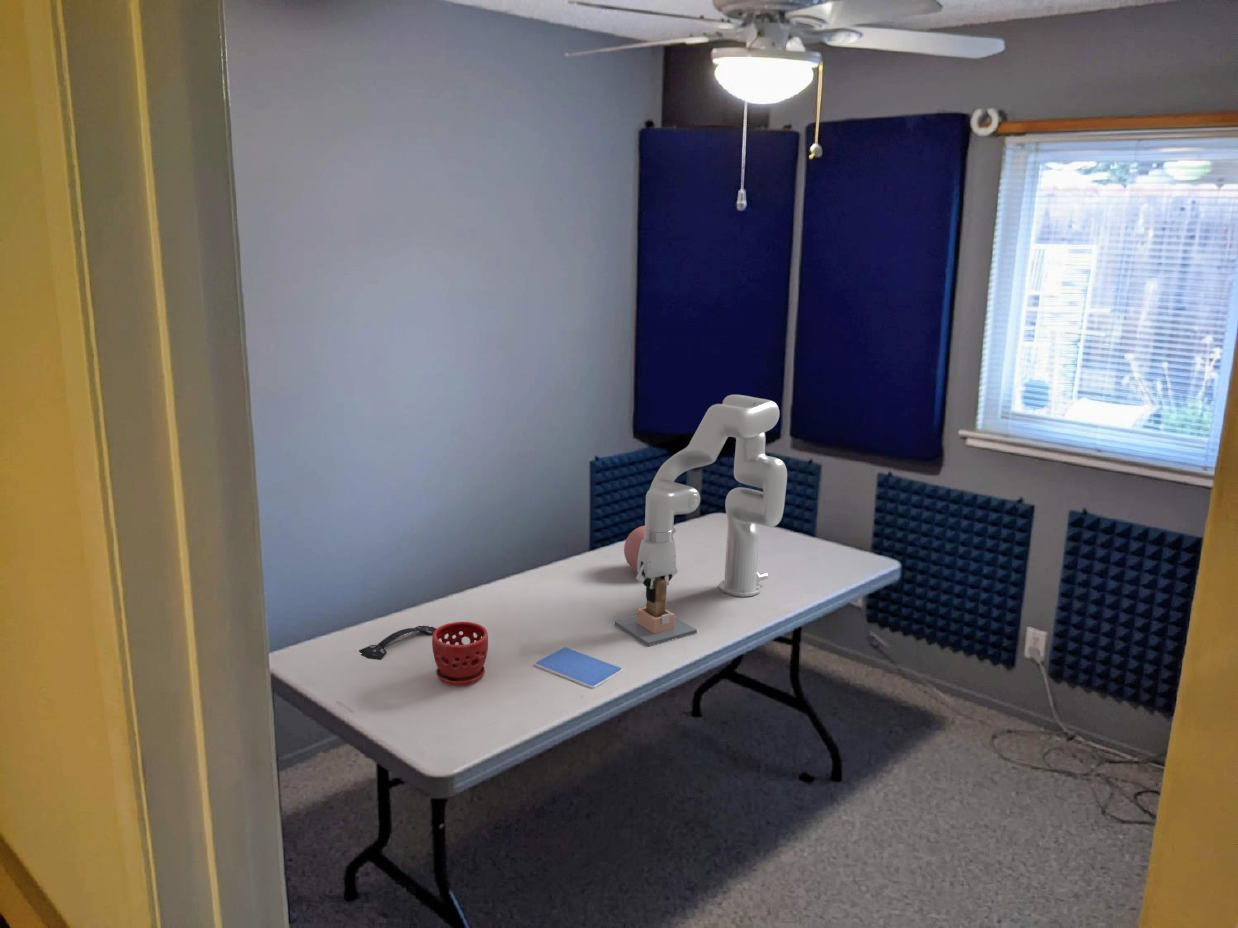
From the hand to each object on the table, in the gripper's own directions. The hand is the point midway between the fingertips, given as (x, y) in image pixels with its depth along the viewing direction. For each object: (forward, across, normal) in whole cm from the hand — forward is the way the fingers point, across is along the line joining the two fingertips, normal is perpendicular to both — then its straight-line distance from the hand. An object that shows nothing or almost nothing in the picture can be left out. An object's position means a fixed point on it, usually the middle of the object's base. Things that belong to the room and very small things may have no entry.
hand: (655, 599), depth 256 cm
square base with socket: (+9, 0, 0) cm, 9 cm away
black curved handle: (+10, +61, -27) cm, 68 cm away
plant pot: (+9, +57, -1) cm, 57 cm away
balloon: (+9, -25, -36) cm, 45 cm away
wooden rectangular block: (+4, 0, 0) cm, 4 cm away
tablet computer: (+10, +30, +9) cm, 33 cm away
